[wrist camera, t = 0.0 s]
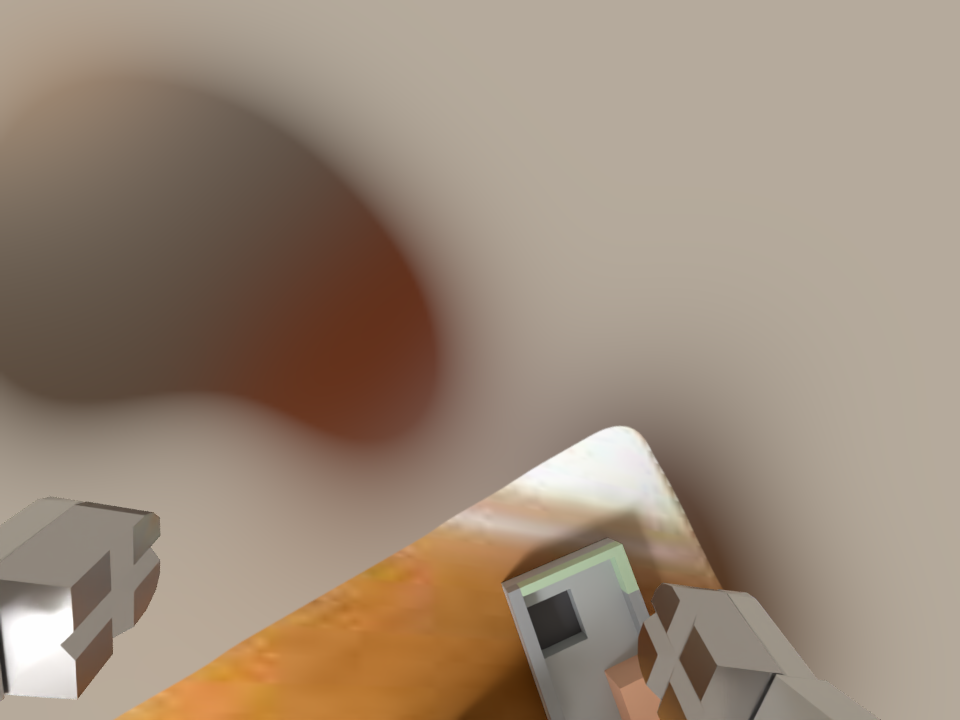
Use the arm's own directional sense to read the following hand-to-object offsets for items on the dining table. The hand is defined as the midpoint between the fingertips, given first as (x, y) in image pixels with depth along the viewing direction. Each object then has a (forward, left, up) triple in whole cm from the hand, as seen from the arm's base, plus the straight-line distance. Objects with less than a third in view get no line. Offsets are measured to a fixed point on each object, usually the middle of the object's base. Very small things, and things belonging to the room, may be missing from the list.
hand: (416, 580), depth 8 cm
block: (-33, -16, -52) cm, 64 cm away
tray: (-27, -13, -54) cm, 62 cm away
